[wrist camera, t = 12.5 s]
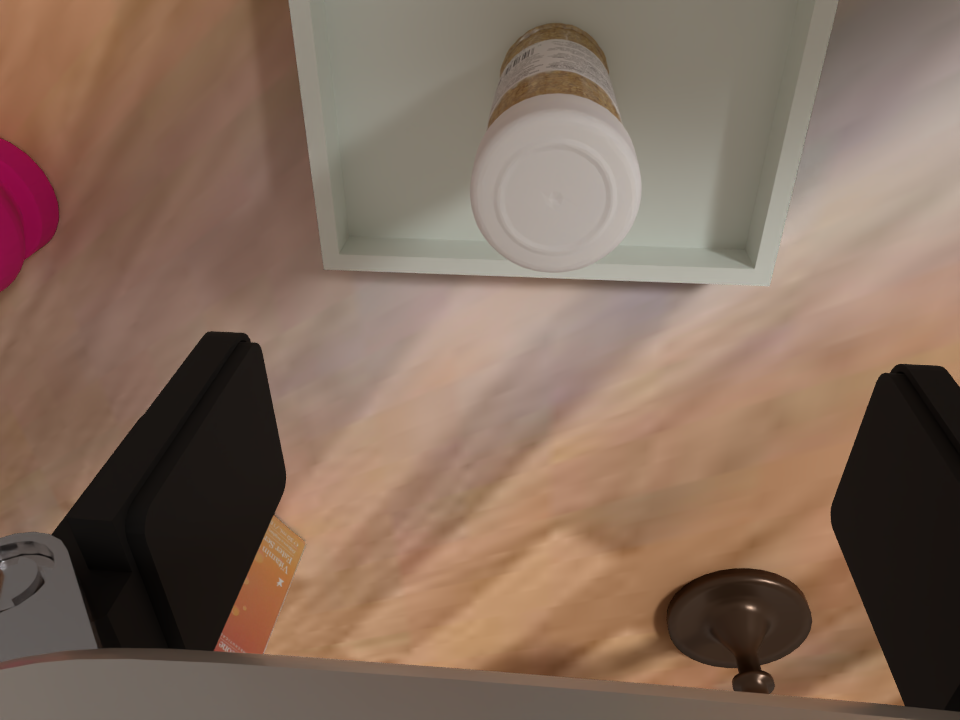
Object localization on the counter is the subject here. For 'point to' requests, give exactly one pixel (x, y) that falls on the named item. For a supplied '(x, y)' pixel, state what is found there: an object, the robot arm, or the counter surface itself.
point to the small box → (263, 592)
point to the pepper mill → (23, 210)
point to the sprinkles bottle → (555, 156)
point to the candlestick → (740, 623)
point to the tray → (641, 102)
